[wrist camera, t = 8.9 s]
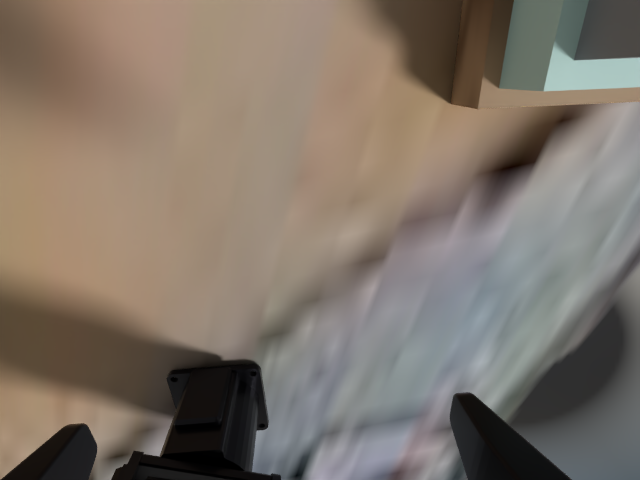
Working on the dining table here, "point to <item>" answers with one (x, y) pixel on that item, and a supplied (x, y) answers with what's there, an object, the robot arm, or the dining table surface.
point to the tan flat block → (487, 61)
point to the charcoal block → (610, 30)
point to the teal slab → (557, 51)
